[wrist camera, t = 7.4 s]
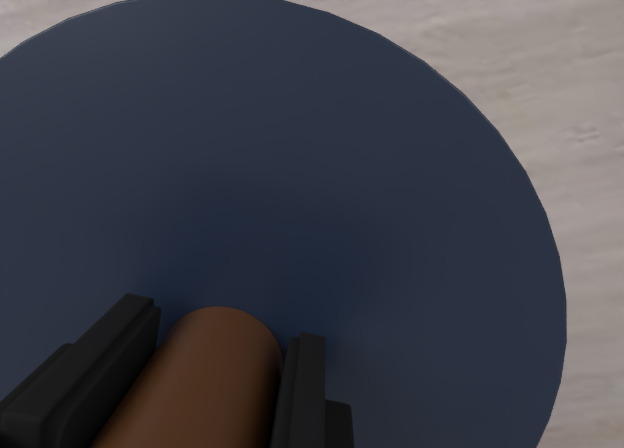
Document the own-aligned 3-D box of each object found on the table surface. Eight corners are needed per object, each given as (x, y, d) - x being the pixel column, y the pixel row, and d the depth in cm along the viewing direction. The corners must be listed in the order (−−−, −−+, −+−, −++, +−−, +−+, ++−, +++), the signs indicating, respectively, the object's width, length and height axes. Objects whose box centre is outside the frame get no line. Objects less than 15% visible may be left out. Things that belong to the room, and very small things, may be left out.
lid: (509, -79, 9) (956, -518, 3) (565, 529, 13) (802, 956, 6) (-182, 93, 10) (-1010, 79, 4) (56, 597, 14) (-166, 1006, 8)
